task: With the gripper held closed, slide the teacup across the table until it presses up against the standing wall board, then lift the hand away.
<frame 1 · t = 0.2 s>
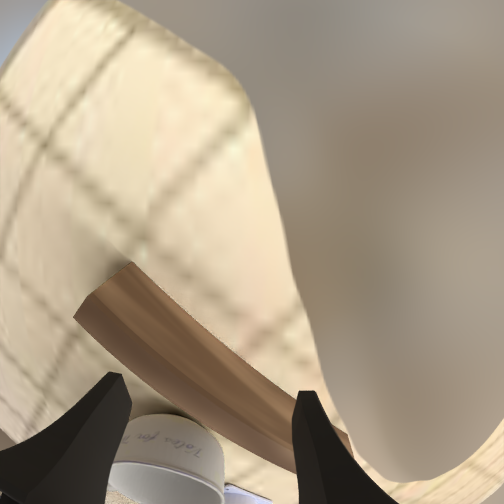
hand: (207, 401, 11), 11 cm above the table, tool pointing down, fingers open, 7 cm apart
teacup: (164, 433, 25), on the table
wall board: (249, 378, 23), on the table
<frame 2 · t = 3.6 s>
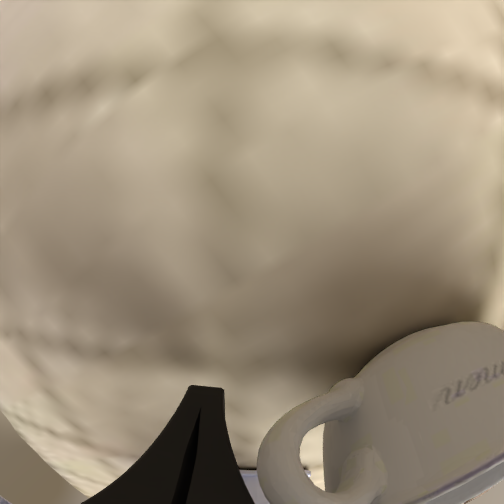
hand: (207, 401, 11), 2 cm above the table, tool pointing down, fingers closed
teacup: (391, 365, 13), on the table, touching gripper
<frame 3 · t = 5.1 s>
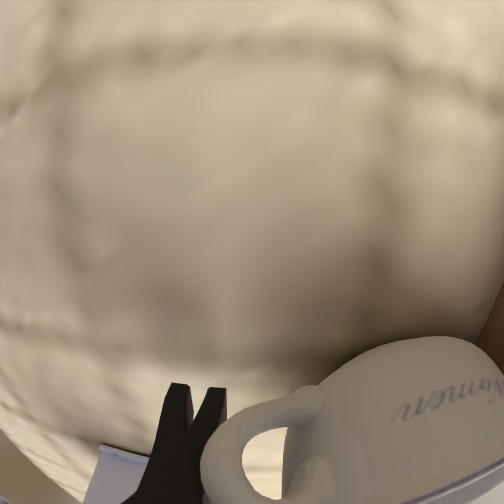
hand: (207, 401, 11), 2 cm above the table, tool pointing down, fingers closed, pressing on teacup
teacup: (362, 375, 13), on the table, touching gripper, wall board
wall board: (473, 366, 12), on the table
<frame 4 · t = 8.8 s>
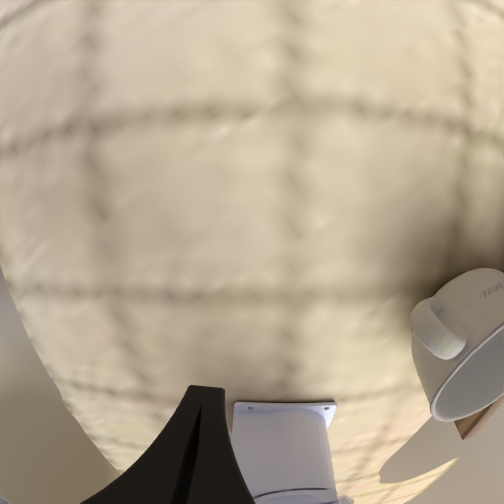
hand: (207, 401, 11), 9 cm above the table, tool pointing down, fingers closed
teacup: (442, 301, 20), on the table, touching wall board
wall board: (499, 299, 20), on the table
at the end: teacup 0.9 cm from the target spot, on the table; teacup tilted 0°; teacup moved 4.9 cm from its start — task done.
